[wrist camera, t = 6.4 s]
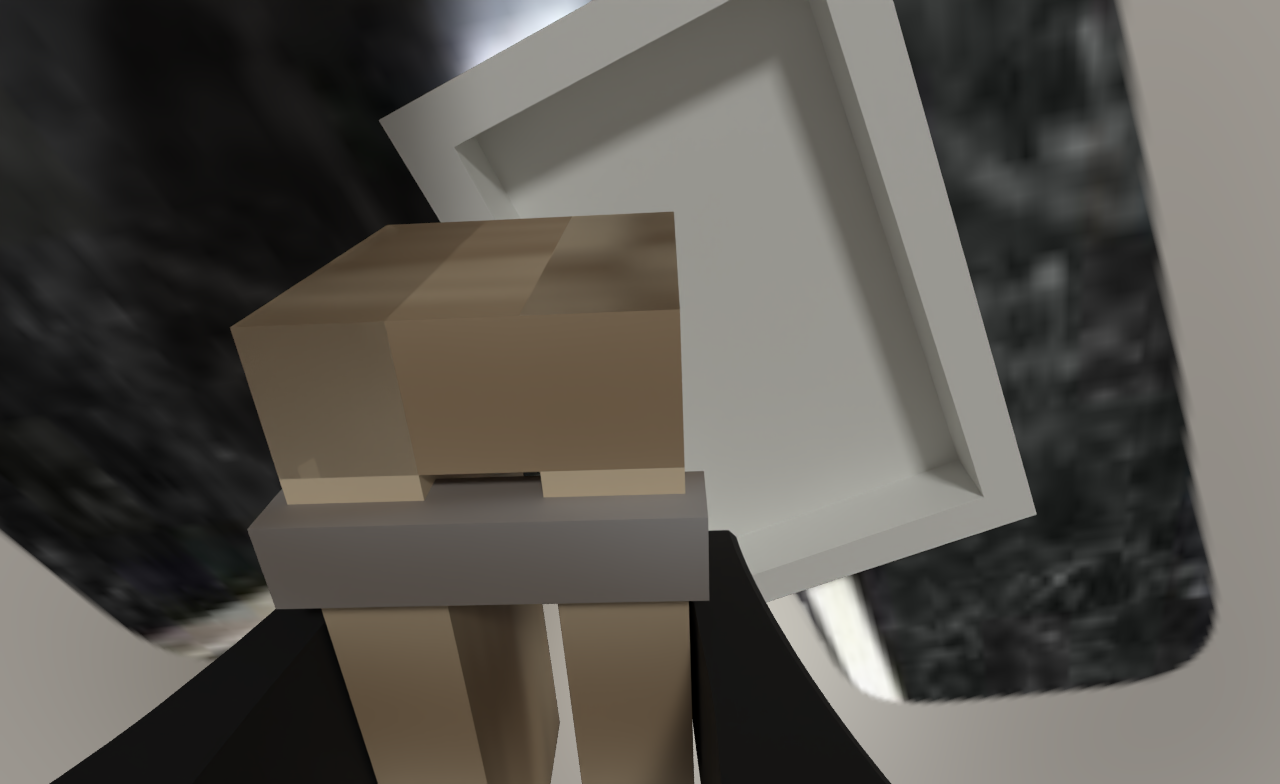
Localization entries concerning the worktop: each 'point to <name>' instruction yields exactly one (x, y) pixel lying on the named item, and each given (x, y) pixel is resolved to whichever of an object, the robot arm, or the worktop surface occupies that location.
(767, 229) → the tray
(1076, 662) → the worktop surface
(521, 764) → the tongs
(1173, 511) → the worktop surface
